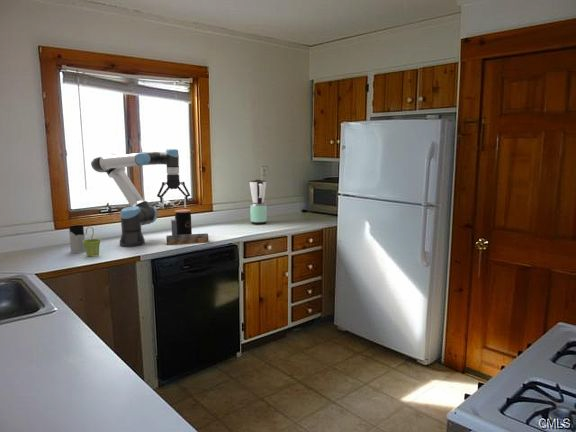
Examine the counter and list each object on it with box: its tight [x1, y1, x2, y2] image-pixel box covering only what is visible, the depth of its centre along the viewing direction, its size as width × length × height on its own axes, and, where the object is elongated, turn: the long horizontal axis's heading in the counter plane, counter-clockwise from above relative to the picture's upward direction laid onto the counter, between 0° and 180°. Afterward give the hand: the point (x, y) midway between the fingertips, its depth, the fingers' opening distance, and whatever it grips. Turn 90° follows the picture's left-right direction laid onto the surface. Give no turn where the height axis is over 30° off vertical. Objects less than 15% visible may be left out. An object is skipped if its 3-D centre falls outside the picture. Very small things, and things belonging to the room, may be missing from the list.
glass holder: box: [68, 224, 95, 254], centre depth 259 cm, size 9×14×15 cm, turn 138°
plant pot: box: [83, 238, 102, 258], centre depth 247 cm, size 9×9×9 cm
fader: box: [170, 219, 177, 237], centre depth 278 cm, size 3×5×11 cm, turn 14°
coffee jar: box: [174, 208, 193, 235], centre depth 299 cm, size 11×11×18 cm
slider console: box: [165, 232, 210, 246], centre depth 281 cm, size 26×10×4 cm, turn 104°
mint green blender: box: [249, 179, 268, 226], centre depth 346 cm, size 19×13×35 cm
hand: (174, 207), depth 277 cm, fingers open, 13 cm apart
